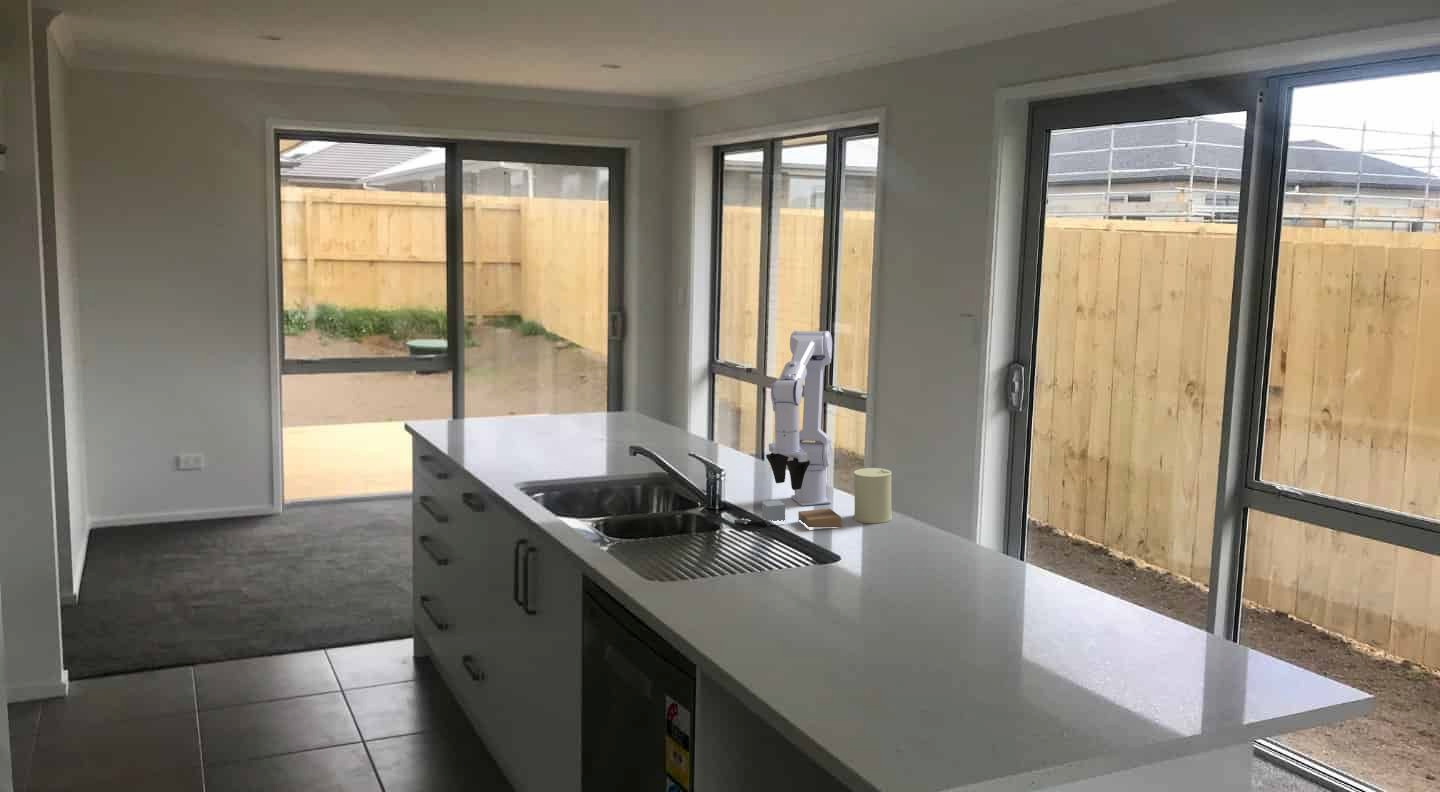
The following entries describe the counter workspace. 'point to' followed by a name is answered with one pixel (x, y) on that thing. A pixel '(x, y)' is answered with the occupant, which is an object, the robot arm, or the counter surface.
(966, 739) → the counter surface
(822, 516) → the slab
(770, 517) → the block
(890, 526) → the counter surface
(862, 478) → the can
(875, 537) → the counter surface
